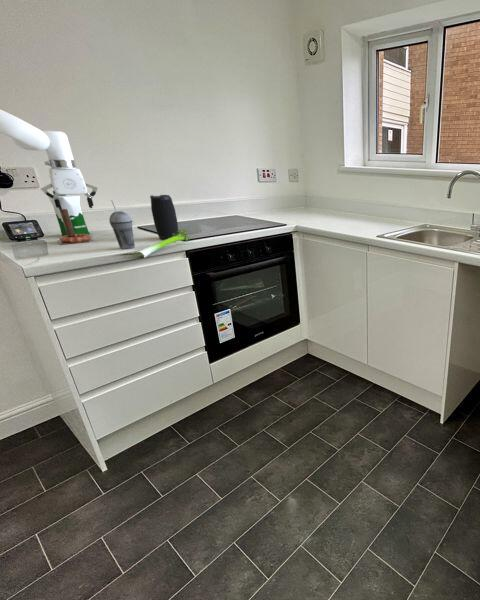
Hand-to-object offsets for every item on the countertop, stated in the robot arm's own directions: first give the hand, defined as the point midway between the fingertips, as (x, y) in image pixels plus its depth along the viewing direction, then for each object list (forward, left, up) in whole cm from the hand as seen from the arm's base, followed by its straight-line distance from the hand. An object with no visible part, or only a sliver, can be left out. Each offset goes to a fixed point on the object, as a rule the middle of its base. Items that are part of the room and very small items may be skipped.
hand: (76, 208), depth 146 cm
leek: (+22, -32, -15) cm, 42 cm away
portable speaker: (+29, -10, -15) cm, 34 cm away
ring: (-3, 0, -12) cm, 12 cm away
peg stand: (-4, 0, -14) cm, 15 cm away
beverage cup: (+10, -26, -15) cm, 31 cm away
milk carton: (-1, +21, -15) cm, 26 cm away
